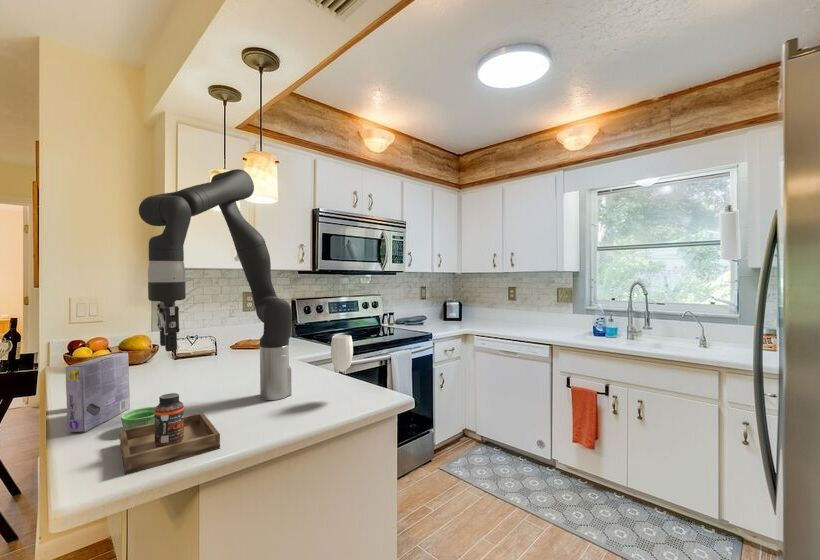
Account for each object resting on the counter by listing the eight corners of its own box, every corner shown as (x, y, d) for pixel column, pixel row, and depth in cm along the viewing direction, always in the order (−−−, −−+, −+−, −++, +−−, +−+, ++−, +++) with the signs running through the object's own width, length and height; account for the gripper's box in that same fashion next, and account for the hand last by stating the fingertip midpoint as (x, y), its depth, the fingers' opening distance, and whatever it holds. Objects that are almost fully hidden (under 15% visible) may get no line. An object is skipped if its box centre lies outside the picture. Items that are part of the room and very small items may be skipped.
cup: (342, 393, 129) (342, 333, 129) (357, 397, 125) (357, 335, 125) (326, 399, 124) (325, 336, 123) (341, 404, 119) (341, 339, 119)
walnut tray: (202, 424, 103) (202, 412, 103) (220, 448, 89) (219, 433, 89) (120, 444, 92) (119, 430, 91) (125, 474, 78) (124, 458, 78)
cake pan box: (116, 407, 116) (115, 351, 116) (133, 407, 117) (132, 350, 116) (64, 434, 97) (63, 366, 97) (85, 433, 98) (83, 366, 97)
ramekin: (116, 438, 95) (115, 421, 95) (126, 425, 103) (126, 409, 103) (158, 432, 98) (158, 416, 98) (165, 420, 107) (164, 404, 107)
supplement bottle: (169, 448, 87) (169, 400, 87) (148, 446, 88) (147, 398, 88) (189, 437, 93) (189, 392, 93) (169, 435, 94) (168, 390, 94)
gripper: (191, 280, 87) (192, 350, 87) (179, 279, 97) (181, 342, 98) (151, 281, 82) (153, 355, 82) (144, 280, 92) (145, 345, 93)
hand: (168, 348), depth 90 cm, fingers open, 8 cm apart
